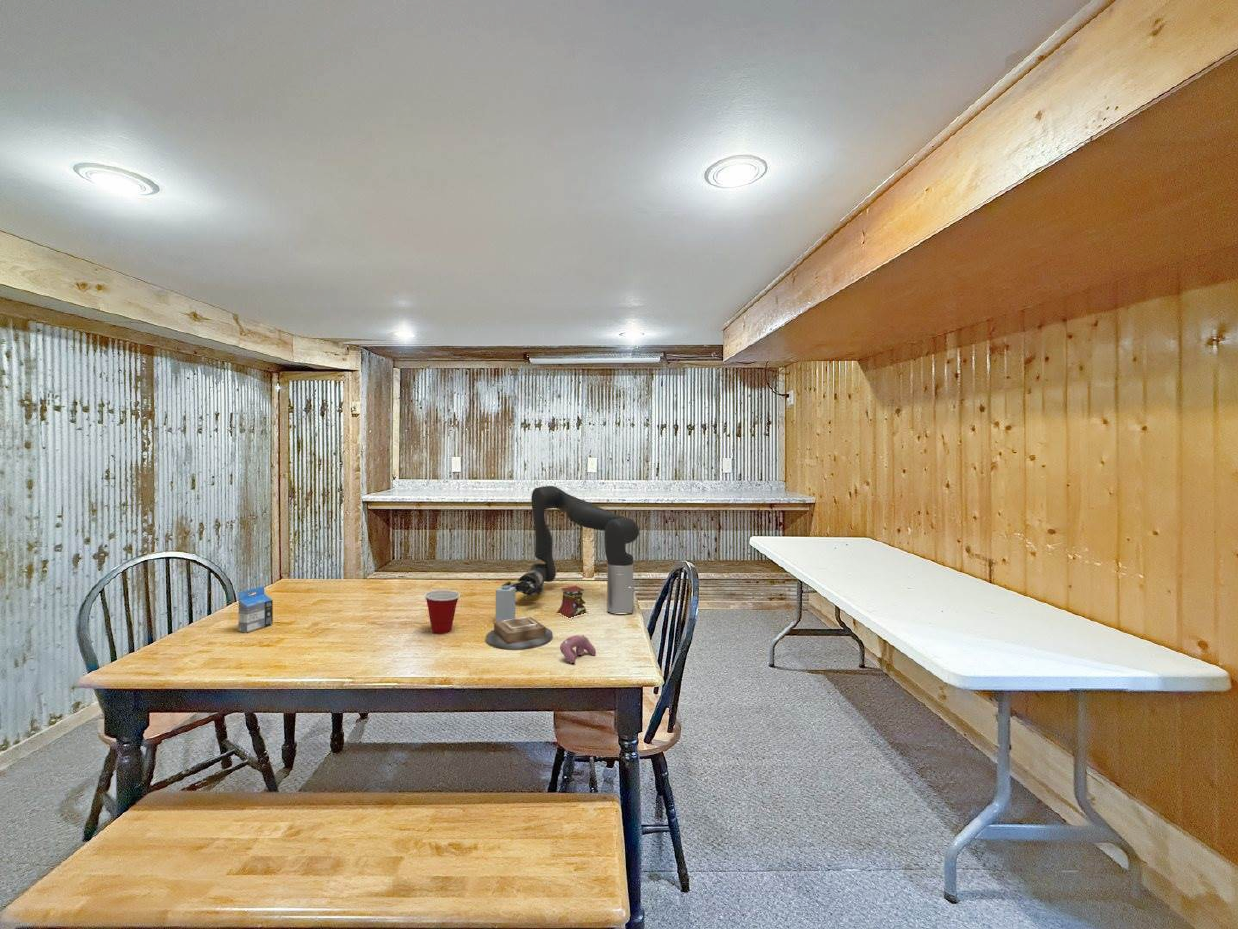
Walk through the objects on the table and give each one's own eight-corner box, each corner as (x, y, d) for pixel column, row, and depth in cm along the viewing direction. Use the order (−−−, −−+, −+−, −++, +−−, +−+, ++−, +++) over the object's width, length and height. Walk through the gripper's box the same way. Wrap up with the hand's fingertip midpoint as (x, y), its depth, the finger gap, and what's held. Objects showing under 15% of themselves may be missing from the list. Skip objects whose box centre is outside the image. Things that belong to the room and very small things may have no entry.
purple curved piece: (587, 657, 158) (579, 633, 160) (598, 654, 155) (590, 629, 157) (563, 668, 150) (555, 642, 152) (574, 664, 148) (565, 638, 149)
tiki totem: (568, 619, 188) (568, 593, 188) (556, 613, 195) (556, 587, 195) (589, 615, 193) (590, 589, 193) (576, 609, 200) (577, 584, 200)
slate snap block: (515, 619, 187) (515, 584, 187) (510, 624, 183) (510, 588, 182) (501, 618, 188) (501, 584, 188) (495, 623, 183) (495, 587, 183)
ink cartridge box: (247, 633, 171) (246, 593, 171) (237, 632, 172) (237, 592, 172) (273, 625, 179) (273, 587, 179) (264, 623, 181) (264, 586, 180)
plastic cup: (449, 638, 169) (449, 598, 168) (417, 635, 171) (417, 596, 170) (466, 627, 179) (466, 590, 179) (435, 624, 181) (435, 588, 181)
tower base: (537, 624, 183) (537, 609, 183) (563, 642, 166) (563, 626, 166) (477, 634, 172) (477, 618, 172) (498, 654, 155) (498, 637, 155)
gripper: (512, 571, 213) (497, 581, 197) (548, 573, 211) (536, 583, 195) (512, 590, 213) (497, 602, 197) (548, 592, 211) (535, 604, 195)
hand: (516, 592), depth 196 cm, fingers open, 8 cm apart
